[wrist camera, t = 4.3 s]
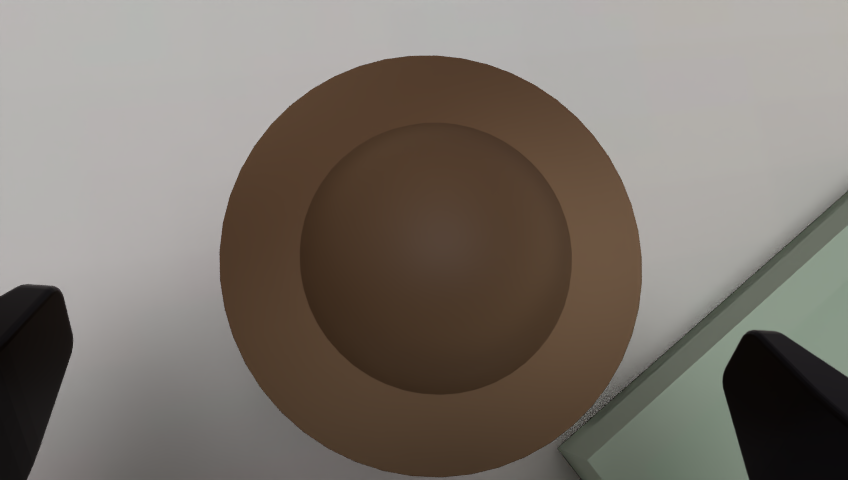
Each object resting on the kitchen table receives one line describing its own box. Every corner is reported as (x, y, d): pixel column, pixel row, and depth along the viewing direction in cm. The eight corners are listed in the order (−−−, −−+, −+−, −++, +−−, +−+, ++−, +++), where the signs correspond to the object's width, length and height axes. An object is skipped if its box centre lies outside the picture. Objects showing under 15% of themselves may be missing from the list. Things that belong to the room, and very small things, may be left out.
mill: (509, 332, 17) (790, 282, 7) (365, 449, 16) (412, 622, 6) (400, 191, 18) (493, -80, 7) (252, 297, 17) (86, 179, 6)
